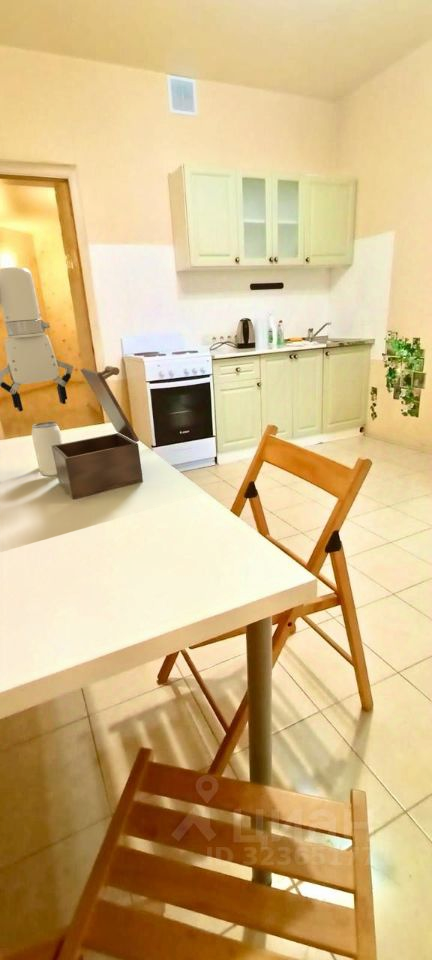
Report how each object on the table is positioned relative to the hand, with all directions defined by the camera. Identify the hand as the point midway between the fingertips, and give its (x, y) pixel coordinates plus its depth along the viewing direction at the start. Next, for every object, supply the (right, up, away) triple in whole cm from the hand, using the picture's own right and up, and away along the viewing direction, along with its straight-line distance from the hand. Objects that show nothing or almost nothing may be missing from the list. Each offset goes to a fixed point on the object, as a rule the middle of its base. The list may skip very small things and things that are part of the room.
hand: (42, 406), depth 104 cm
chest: (+14, -18, -3) cm, 23 cm away
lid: (+17, -1, -7) cm, 19 cm away
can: (+1, -15, +6) cm, 16 cm away
